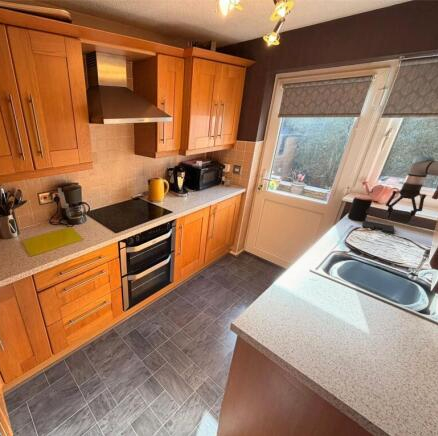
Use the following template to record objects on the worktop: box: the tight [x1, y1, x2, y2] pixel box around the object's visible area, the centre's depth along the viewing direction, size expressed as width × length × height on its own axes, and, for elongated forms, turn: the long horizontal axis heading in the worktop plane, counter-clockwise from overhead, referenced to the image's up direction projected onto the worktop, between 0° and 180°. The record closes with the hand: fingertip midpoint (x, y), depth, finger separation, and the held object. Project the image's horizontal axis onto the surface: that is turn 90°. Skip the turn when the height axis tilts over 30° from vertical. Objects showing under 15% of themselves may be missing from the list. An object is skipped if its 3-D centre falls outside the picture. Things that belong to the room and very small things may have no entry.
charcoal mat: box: [361, 220, 396, 236], centre depth 163 cm, size 14×16×2 cm
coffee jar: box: [347, 194, 374, 222], centre depth 176 cm, size 11×11×18 cm
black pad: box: [388, 208, 412, 224], centre depth 143 cm, size 11×8×5 cm
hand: (397, 219), depth 143 cm, fingers closed on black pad, 8 cm apart
